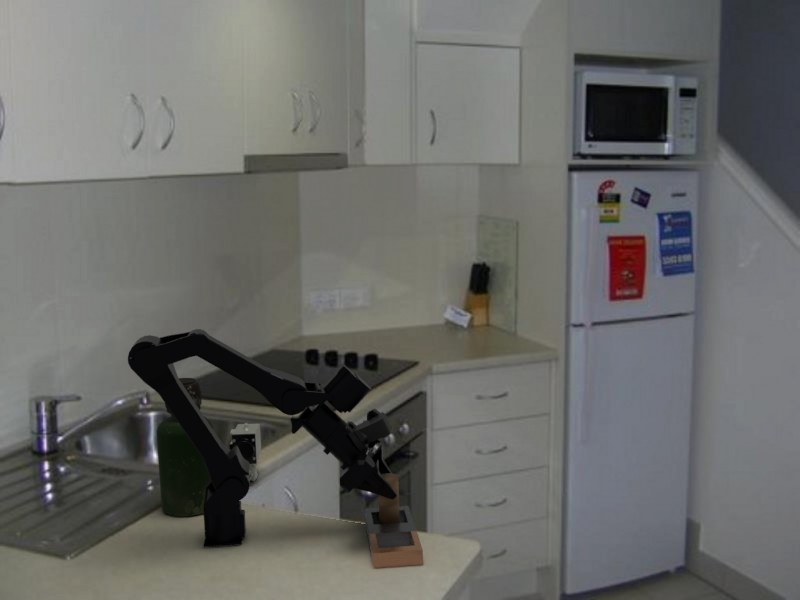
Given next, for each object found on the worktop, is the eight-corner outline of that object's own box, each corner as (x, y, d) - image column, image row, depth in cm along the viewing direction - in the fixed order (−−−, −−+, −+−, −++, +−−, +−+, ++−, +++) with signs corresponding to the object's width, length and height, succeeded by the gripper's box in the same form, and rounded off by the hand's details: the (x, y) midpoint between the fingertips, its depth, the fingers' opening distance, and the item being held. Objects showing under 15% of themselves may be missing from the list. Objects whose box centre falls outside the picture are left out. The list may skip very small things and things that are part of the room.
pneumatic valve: (263, 469, 198) (260, 415, 196) (256, 488, 186) (253, 430, 184) (237, 470, 197) (234, 416, 196) (229, 489, 186) (226, 431, 184)
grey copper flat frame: (373, 568, 147) (373, 553, 146) (365, 521, 166) (364, 508, 166) (423, 564, 148) (422, 549, 147) (408, 518, 167) (408, 505, 167)
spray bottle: (150, 514, 173) (142, 385, 170) (182, 496, 183) (174, 373, 179) (197, 520, 169) (189, 388, 166) (227, 501, 179) (220, 376, 176)
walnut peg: (380, 535, 160) (378, 480, 159) (378, 527, 164) (377, 473, 162) (400, 534, 160) (399, 479, 159) (398, 526, 164) (397, 472, 163)
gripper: (357, 413, 150) (425, 478, 150) (368, 387, 168) (430, 445, 169) (311, 460, 151) (379, 524, 152) (328, 429, 170) (388, 486, 171)
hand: (396, 492), depth 161 cm, fingers open, 5 cm apart
